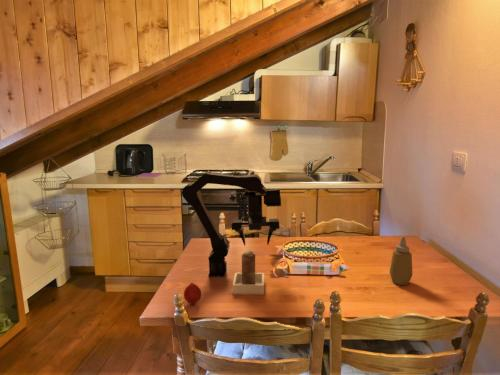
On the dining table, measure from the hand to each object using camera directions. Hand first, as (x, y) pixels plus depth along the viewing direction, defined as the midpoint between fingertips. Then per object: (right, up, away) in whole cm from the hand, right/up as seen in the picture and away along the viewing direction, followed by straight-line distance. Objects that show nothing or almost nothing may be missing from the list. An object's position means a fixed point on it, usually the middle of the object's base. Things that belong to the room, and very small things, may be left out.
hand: (256, 245), depth 148 cm
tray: (-3, -14, -10) cm, 18 cm away
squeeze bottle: (+55, -13, -7) cm, 57 cm away
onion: (-22, -17, -22) cm, 36 cm away
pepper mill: (-3, -14, -10) cm, 17 cm away
